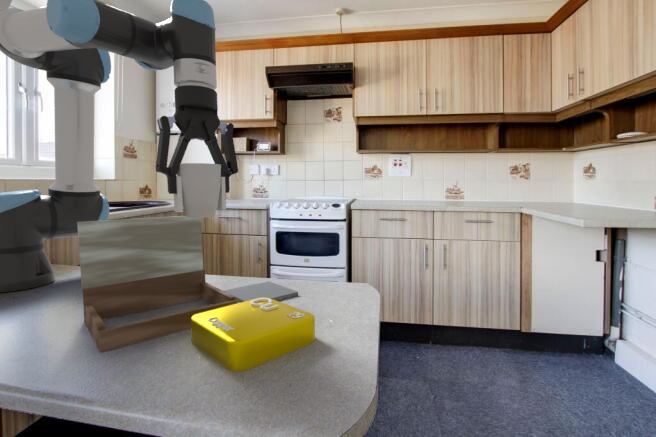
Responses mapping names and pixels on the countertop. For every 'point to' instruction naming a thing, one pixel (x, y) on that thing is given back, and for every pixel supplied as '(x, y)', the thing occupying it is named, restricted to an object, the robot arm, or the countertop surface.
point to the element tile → (251, 332)
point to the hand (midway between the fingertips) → (200, 210)
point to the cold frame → (142, 276)
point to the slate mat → (262, 292)
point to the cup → (200, 188)
